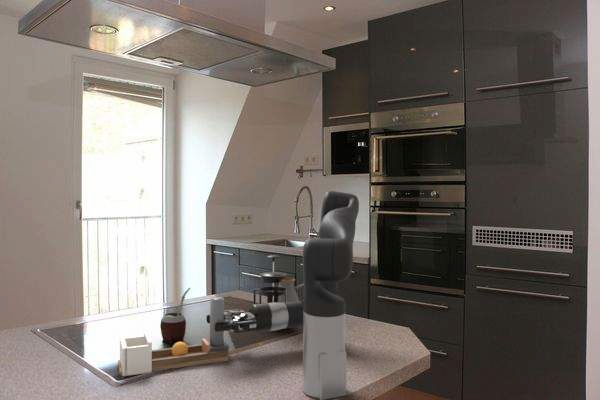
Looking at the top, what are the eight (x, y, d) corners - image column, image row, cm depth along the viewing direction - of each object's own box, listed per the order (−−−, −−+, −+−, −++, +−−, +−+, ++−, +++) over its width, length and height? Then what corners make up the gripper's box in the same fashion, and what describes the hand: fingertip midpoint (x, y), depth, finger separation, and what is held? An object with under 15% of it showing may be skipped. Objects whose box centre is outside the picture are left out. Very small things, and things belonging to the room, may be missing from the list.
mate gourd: (157, 346, 131) (157, 292, 131) (164, 337, 139) (165, 287, 138) (184, 346, 131) (184, 293, 131) (190, 337, 139) (190, 287, 139)
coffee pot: (268, 319, 160) (268, 275, 160) (271, 311, 172) (271, 270, 172) (330, 320, 160) (331, 276, 160) (329, 312, 171) (329, 271, 171)
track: (228, 360, 120) (228, 350, 120) (120, 375, 109) (120, 365, 109) (220, 351, 127) (220, 341, 127) (117, 364, 116) (117, 354, 116)
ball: (189, 359, 118) (189, 343, 118) (173, 361, 116) (173, 345, 116) (186, 354, 121) (186, 338, 121) (170, 356, 120) (170, 340, 120)
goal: (151, 372, 111) (151, 342, 111) (122, 376, 109) (122, 345, 109) (146, 359, 120) (147, 332, 119) (119, 363, 117) (120, 334, 117)
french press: (291, 322, 156) (292, 254, 156) (285, 330, 147) (286, 257, 147) (257, 320, 158) (258, 253, 158) (249, 328, 149) (250, 256, 149)
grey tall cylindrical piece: (228, 353, 121) (229, 300, 121) (206, 356, 119) (207, 301, 119) (223, 347, 126) (223, 295, 126) (201, 350, 124) (202, 297, 124)
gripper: (260, 298, 135) (204, 302, 128) (278, 309, 122) (217, 315, 115) (259, 323, 135) (204, 330, 128) (278, 337, 122) (217, 345, 115)
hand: (210, 323), depth 122 cm, fingers open, 8 cm apart
